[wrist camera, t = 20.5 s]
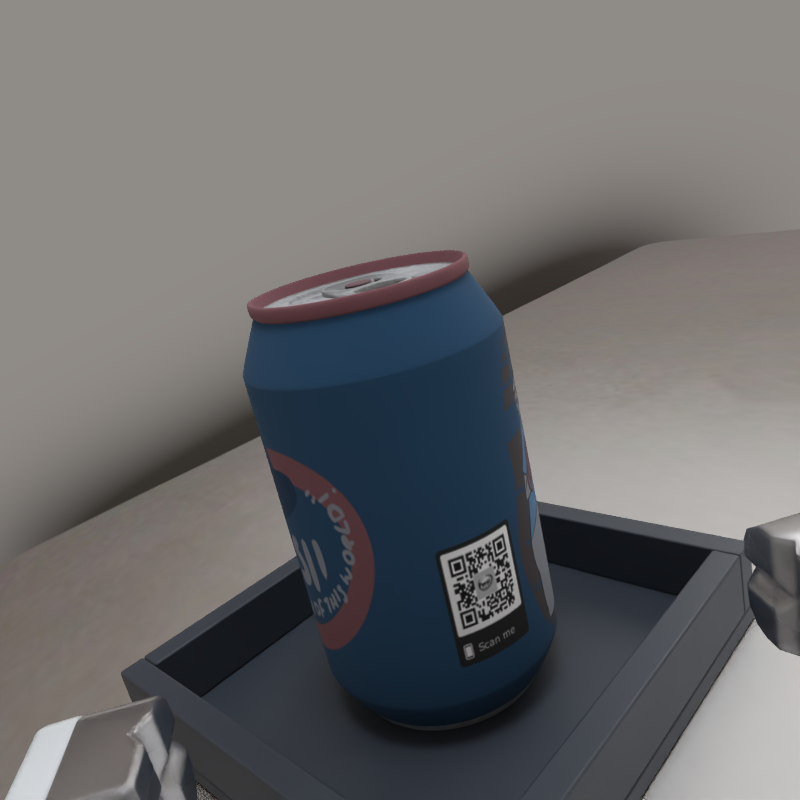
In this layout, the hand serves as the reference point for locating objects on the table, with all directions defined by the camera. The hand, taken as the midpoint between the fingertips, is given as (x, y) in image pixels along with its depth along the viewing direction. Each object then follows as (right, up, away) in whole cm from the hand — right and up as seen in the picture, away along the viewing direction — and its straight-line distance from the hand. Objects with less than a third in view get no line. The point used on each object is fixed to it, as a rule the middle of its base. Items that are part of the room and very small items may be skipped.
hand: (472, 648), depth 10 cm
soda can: (+1, -5, +12) cm, 13 cm away
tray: (0, -5, +12) cm, 13 cm away
